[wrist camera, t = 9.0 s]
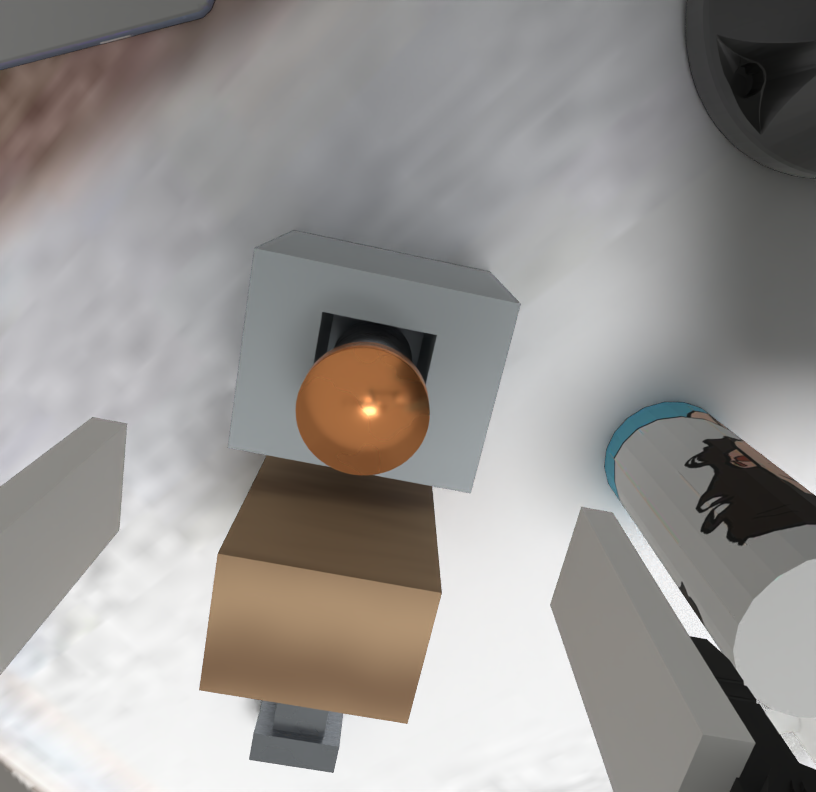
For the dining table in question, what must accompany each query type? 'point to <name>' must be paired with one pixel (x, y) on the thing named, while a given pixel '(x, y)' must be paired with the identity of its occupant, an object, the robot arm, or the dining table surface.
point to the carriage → (325, 592)
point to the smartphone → (83, 24)
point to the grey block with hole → (381, 303)
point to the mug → (796, 729)
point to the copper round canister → (364, 402)
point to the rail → (296, 736)
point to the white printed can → (727, 542)
